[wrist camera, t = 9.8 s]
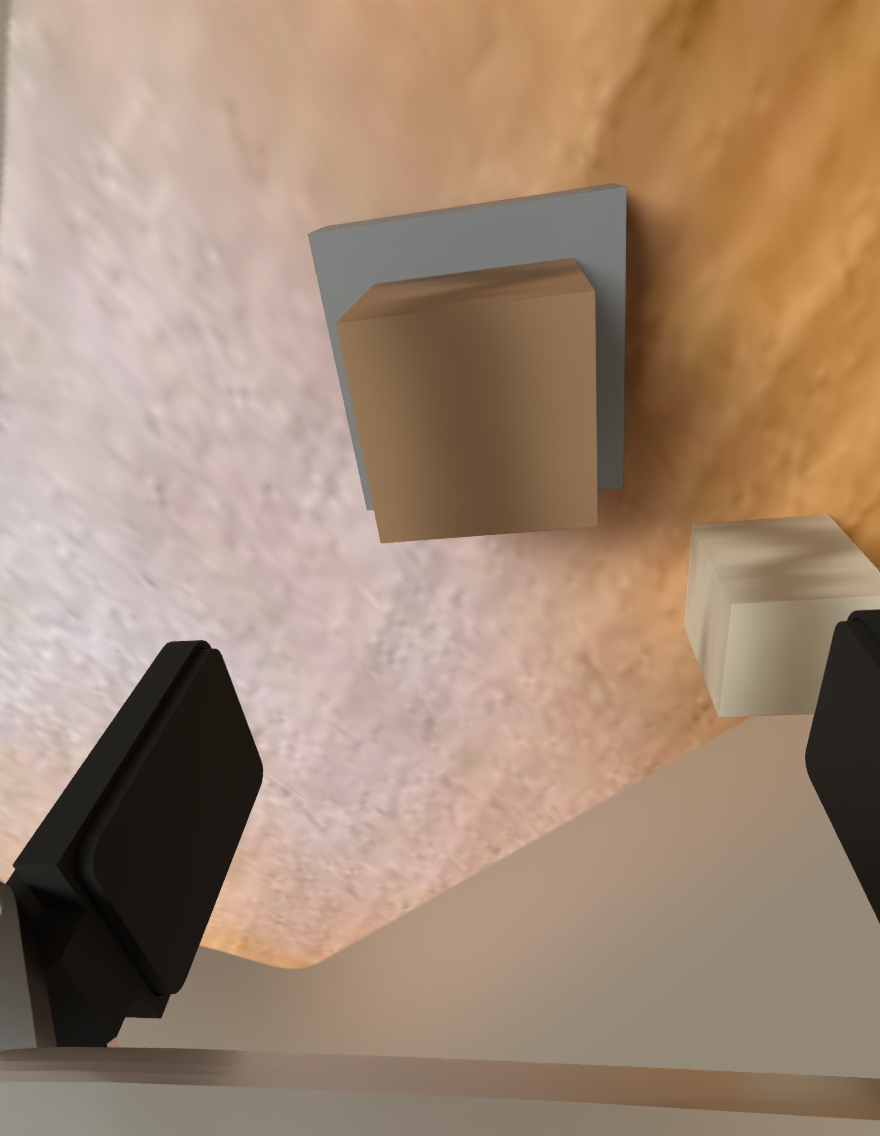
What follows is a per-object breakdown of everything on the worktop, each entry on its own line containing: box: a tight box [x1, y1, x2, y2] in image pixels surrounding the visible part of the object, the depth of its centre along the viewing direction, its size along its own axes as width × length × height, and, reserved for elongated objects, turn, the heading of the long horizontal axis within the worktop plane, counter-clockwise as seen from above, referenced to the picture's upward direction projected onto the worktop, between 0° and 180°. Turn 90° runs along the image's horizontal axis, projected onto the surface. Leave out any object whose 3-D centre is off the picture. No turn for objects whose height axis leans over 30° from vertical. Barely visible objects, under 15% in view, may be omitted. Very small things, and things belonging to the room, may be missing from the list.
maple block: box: [684, 514, 880, 717], centre depth 27 cm, size 6×6×6 cm
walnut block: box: [336, 258, 598, 543], centre depth 21 cm, size 6×6×6 cm
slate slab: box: [308, 184, 627, 510], centre depth 24 cm, size 10×10×2 cm
